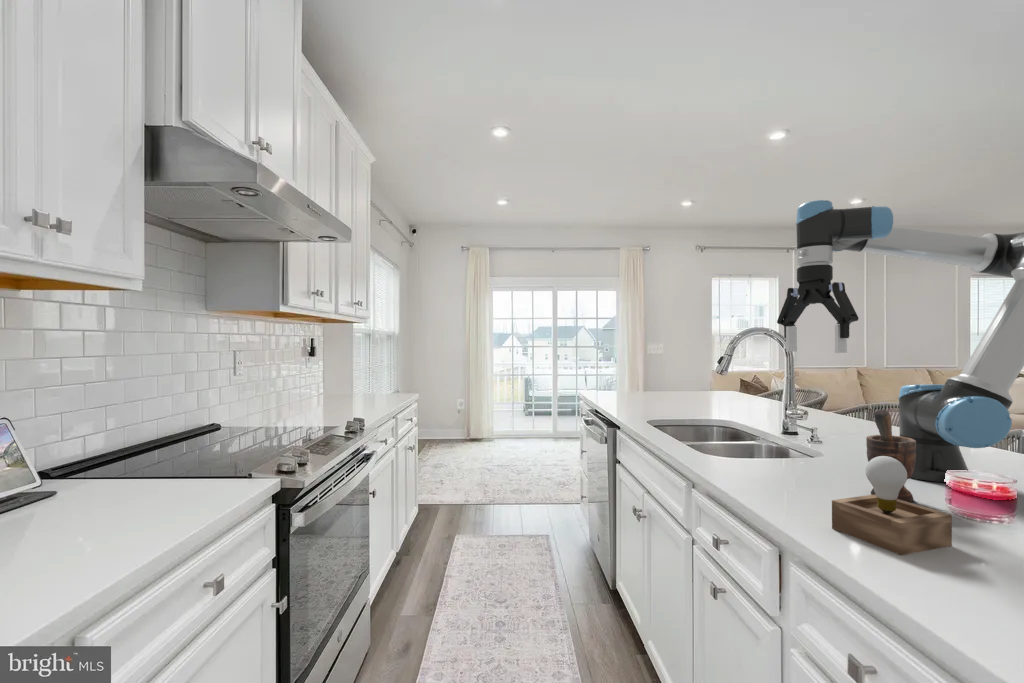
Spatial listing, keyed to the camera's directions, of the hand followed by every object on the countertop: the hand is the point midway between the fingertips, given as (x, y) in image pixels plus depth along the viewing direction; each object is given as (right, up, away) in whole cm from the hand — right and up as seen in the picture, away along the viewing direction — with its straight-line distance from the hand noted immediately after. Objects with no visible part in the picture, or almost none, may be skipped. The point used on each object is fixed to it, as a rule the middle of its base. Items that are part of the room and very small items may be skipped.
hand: (814, 352), depth 120 cm
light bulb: (-8, -28, -34) cm, 44 cm away
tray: (-8, -32, -34) cm, 47 cm away
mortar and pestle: (+8, -32, -14) cm, 36 cm away
